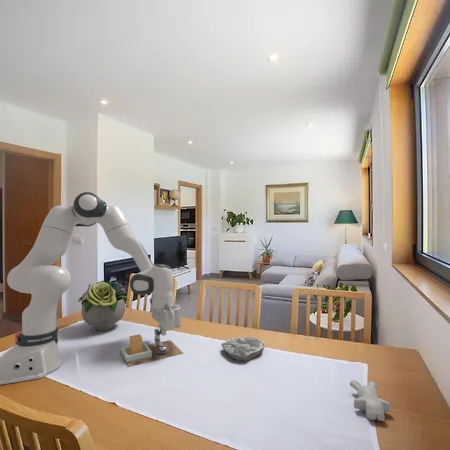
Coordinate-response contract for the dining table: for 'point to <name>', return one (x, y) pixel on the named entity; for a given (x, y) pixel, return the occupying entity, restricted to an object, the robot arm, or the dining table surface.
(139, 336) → the block
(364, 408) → the bunny figurine
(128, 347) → the tray
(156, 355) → the mechanism board
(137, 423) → the dining table surface
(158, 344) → the crank
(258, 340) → the brain slice
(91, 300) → the flower arrangement
